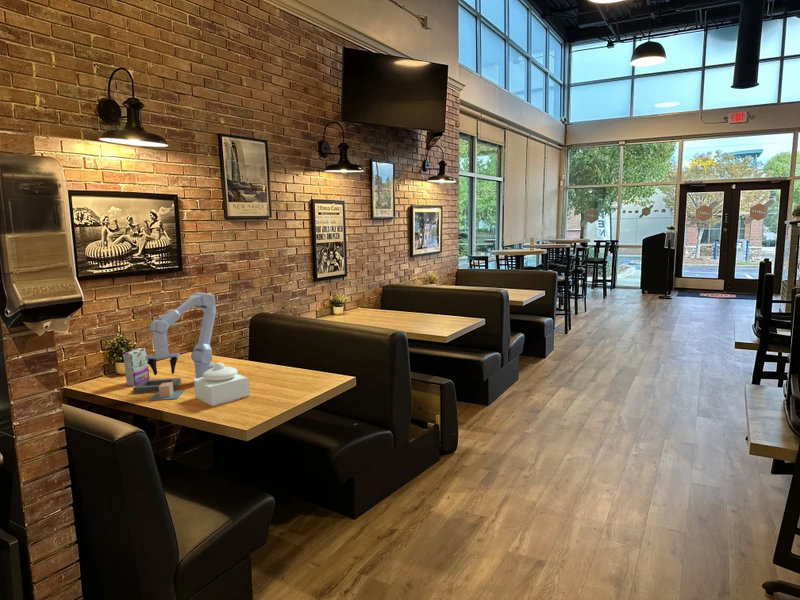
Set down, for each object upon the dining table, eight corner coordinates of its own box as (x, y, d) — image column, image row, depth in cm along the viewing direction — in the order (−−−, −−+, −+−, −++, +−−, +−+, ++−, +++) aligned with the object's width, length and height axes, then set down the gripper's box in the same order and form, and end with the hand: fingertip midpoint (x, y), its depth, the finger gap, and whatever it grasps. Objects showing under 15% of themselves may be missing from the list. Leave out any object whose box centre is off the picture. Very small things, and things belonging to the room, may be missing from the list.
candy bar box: (141, 379, 271) (137, 347, 268) (150, 379, 270) (146, 348, 267) (126, 386, 260) (122, 353, 257) (135, 386, 259) (131, 353, 256)
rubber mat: (184, 390, 248) (183, 389, 248) (176, 399, 237) (176, 398, 237) (157, 392, 247) (157, 391, 247) (148, 401, 235) (148, 400, 235)
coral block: (173, 392, 245) (172, 382, 244) (170, 396, 239) (169, 385, 239) (163, 393, 244) (162, 382, 244) (159, 397, 239) (158, 386, 238)
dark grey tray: (181, 382, 262) (180, 377, 261) (173, 390, 250) (173, 385, 249) (142, 385, 259) (142, 380, 259) (133, 393, 247) (133, 388, 247)
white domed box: (250, 396, 237) (247, 361, 235) (211, 407, 225) (208, 370, 222) (232, 388, 250) (229, 355, 247) (194, 398, 237) (191, 363, 235)
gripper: (141, 348, 239) (145, 377, 242) (175, 346, 242) (178, 375, 244) (146, 345, 246) (150, 373, 248) (179, 342, 248) (182, 370, 250)
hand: (164, 373), depth 246 cm, fingers open, 7 cm apart
